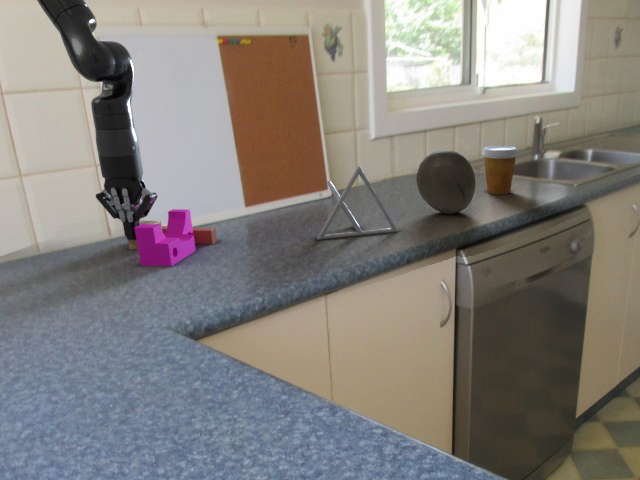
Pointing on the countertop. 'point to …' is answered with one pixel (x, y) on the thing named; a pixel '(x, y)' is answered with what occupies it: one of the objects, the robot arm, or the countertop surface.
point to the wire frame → (349, 214)
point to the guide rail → (201, 235)
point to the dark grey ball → (446, 181)
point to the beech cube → (134, 242)
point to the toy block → (166, 240)
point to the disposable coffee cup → (499, 168)
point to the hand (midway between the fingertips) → (133, 239)
